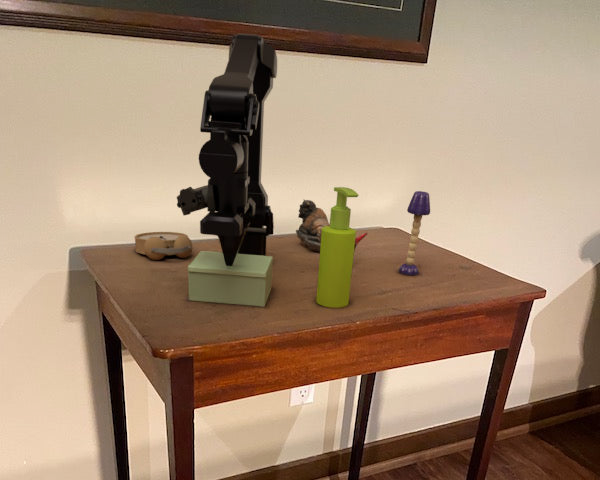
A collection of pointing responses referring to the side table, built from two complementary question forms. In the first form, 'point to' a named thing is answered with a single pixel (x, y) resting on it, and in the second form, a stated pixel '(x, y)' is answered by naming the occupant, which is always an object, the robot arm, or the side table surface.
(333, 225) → the soap dispenser
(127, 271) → the side table surface
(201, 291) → the chest
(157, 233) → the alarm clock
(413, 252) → the toy lamp
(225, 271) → the lid
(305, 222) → the bison figurine
